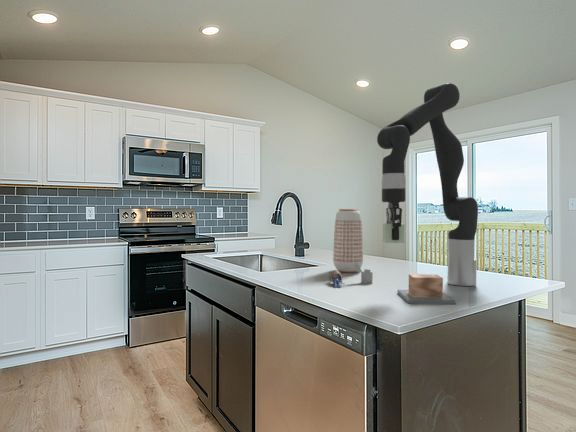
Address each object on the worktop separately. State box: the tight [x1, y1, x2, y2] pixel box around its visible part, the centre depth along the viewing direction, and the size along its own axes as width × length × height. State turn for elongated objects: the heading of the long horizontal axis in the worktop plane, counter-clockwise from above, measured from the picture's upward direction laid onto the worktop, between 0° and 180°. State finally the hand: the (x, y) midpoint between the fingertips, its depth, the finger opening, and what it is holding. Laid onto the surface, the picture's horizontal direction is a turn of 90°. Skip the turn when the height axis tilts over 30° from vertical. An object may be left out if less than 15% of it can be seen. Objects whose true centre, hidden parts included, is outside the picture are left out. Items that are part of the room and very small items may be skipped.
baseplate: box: [397, 289, 457, 305], centre depth 124 cm, size 14×14×1 cm
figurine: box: [328, 269, 345, 289], centre depth 145 cm, size 6×5×12 cm
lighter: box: [354, 262, 374, 284], centre depth 149 cm, size 7×2×8 cm, turn 74°
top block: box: [382, 223, 405, 244], centre depth 128 cm, size 6×5×6 cm
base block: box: [408, 273, 444, 297], centre depth 124 cm, size 9×6×6 cm
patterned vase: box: [332, 208, 364, 274], centre depth 175 cm, size 13×13×28 cm
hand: (393, 239), depth 128 cm, fingers closed on top block, 5 cm apart
